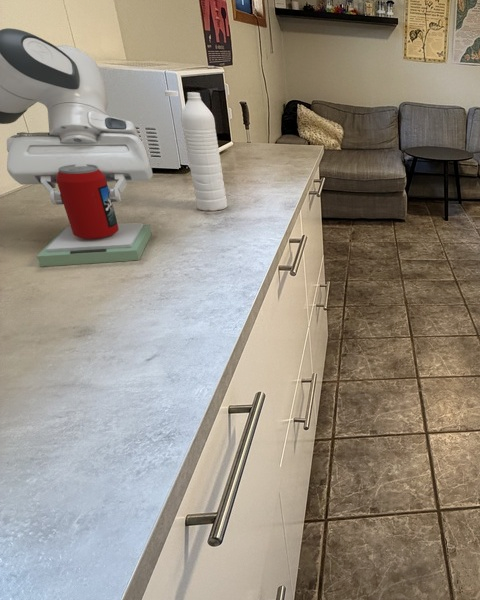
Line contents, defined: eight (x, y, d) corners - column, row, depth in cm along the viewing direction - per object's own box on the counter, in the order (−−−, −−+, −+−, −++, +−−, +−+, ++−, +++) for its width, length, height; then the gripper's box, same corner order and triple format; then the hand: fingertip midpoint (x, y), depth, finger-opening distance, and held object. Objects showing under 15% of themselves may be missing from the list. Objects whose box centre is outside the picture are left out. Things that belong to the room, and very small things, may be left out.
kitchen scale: (40, 266, 77) (35, 252, 76) (66, 237, 89) (62, 225, 88) (139, 260, 82) (135, 246, 81) (151, 233, 94) (149, 221, 93)
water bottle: (229, 203, 114) (213, 91, 103) (224, 211, 109) (206, 94, 97) (190, 203, 113) (169, 89, 101) (183, 211, 107) (159, 91, 95)
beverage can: (127, 235, 86) (110, 168, 80) (86, 245, 80) (65, 174, 75) (107, 226, 88) (89, 161, 83) (66, 235, 83) (44, 167, 78)
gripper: (-3, 120, 77) (0, 195, 74) (142, 122, 86) (151, 189, 82) (14, 144, 83) (18, 214, 79) (150, 143, 91) (158, 206, 88)
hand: (87, 201), depth 81 cm, fingers closed on beverage can, 7 cm apart
